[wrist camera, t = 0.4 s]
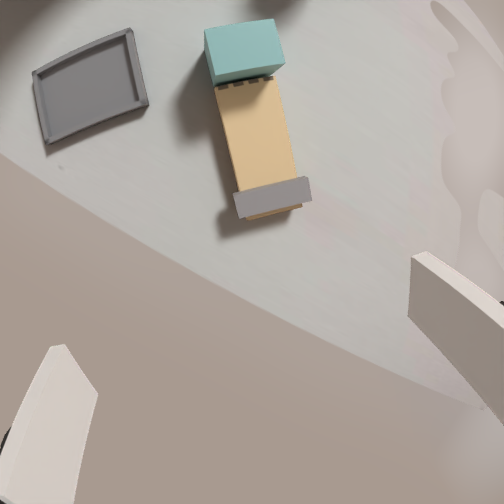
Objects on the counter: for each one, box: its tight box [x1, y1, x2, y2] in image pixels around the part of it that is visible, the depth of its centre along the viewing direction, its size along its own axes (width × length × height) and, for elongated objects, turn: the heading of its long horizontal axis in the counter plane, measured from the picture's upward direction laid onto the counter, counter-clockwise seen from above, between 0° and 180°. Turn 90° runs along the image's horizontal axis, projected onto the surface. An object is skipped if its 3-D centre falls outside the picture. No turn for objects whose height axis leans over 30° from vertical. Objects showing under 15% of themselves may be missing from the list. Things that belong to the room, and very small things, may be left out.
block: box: [204, 19, 285, 87], centre depth 25 cm, size 4×6×7 cm
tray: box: [32, 28, 149, 145], centre depth 25 cm, size 9×12×2 cm
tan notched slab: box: [214, 76, 312, 221], centre depth 30 cm, size 14×8×4 cm, turn 13°
